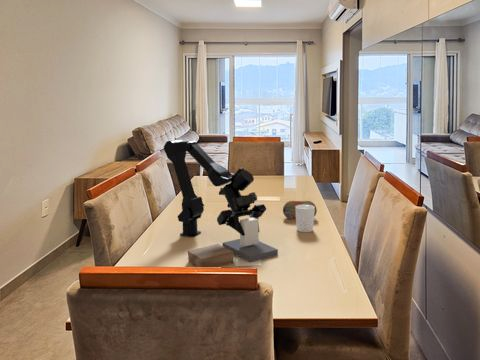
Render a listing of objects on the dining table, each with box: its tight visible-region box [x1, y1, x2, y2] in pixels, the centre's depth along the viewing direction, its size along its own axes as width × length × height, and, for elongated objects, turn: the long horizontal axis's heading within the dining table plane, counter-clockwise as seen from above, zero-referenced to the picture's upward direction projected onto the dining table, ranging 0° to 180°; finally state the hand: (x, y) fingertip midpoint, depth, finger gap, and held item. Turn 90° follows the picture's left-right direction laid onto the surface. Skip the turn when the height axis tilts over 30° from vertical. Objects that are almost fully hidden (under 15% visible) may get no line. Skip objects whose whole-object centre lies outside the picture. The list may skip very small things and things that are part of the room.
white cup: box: [295, 205, 315, 233], centre depth 189 cm, size 8×8×10 cm
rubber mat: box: [222, 238, 279, 263], centre depth 166 cm, size 18×12×2 cm, turn 33°
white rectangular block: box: [239, 217, 260, 246], centre depth 164 cm, size 3×6×9 cm, turn 123°
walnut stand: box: [187, 243, 234, 268], centre depth 155 cm, size 10×12×4 cm
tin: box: [282, 200, 318, 220], centre depth 206 cm, size 15×3×8 cm, turn 81°
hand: (251, 233), depth 163 cm, fingers closed on white rectangular block, 6 cm apart
